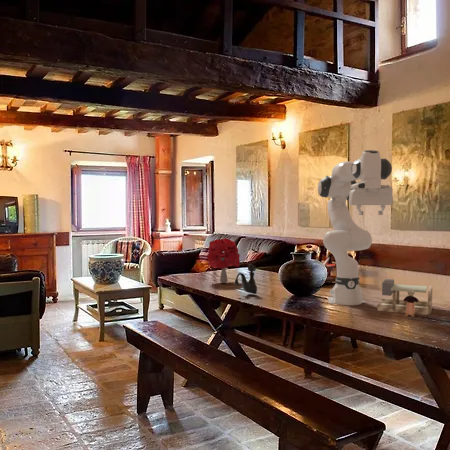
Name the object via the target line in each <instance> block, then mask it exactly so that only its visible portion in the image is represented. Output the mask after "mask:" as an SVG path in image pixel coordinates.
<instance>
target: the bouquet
mask: <svg viewBox="0 0 450 450" xmlns="http://www.w3.org/2000/svg"><path fill="white" fill-rule="evenodd" d="M208 244H209V246H208V253H207V257H206V258H207V259H206V260H207V261H208V265H209V266H210V267H212V268H213V269H221V272H220V277H219V283H225V284H226V283H228V279H229V278H228V275H227V270H226V268H228V267H232V266H233V267H234V268H239V267H240V263H241V259H240V257H241V254H240V253H239V248H238V246H237V244H236V242H235V241H234V240H232V239H229V238H226V237H224V238H220V239H219V238H218V239H214V240H211V241H209V243H208Z"/></svg>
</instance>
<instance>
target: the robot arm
mask: <svg viewBox="0 0 450 450" xmlns="http://www.w3.org/2000/svg"><path fill="white" fill-rule="evenodd" d="M392 171H393V167H392V164H391V162H390V161H389V160H388V159H387V158H381V153H380V151H378V150H369V149H367V150H363V151H362V153H361V156H360V157H359V158H358V159H356V160H354V161H348V160H347V161H342V162H339V163H337V164H336V165H334V167H333V168H332V170H331V175H330V176H328V175H326V176H325V177H324V178H322V179H320V181H319V182H318V184H317V192H318V195H319V196H320V197H321V198H330V199H329V200H328V202H327V213H328V218H329V220H330V225H331V227H332V228H333V230H329V231H327V232H326V233H325V234H324V235H323V239H322V242H323V246H324V248H326V250H327V251H329V253H331V254H332V256H333V257H334V260H335V263H336V264H335V267H336V277H335V279H336V281H334V282H335V284H334V285H333V287H332V288H331V289H329V295H331V296H328V297H327V301H328V302H329V304H330V305H342V306H358V305H361V304H365V303H366V301H365V300H363V289H362V287H361V286H360V277H359V263H358V261H357V260H356V259H355V258H353V257H351V256H349V251H351V252H352V251H354V252H355V251H356V252H357V251H364V250H368V249H370V247H371V246H372V243H373V237H372V234H371V233H370V232H369V231H368V230H365V229H364V228H361V227H360V226H359V225H358V224H357V223H355V221H354V220H353V218H352V215H351V213H350V210H349V208H348V205H347V201H348V203H349V205H350V206H356V209H357V211H358V216H364V211H362V206H380V211H379V210H378V216H383V215H384V210H386V209H385V208H386V206H392V204H394V197H393V188H392V186H391V185H389V184H382V180H386V179H388V177H390V176H391V174H392ZM357 180H360V181H359V182H357Z"/></svg>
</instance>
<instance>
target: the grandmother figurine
mask: <svg viewBox="0 0 450 450" xmlns="http://www.w3.org/2000/svg"><path fill="white" fill-rule="evenodd" d="M406 293H407V295H406V296H405V297H404V299H402V300H403V302H402V304H404V303H405V301H407V304H406V313H404V316H405V317H412V318H413V317H415V315H416V314H415V303H414V301H415V302H417V303H418V305H420V303H419V301H420V300H419V299H418V298H417V297H416V296H414V295H415V294H416V292H415V291H414V290H413V289H408V291H407V292H406Z"/></svg>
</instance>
